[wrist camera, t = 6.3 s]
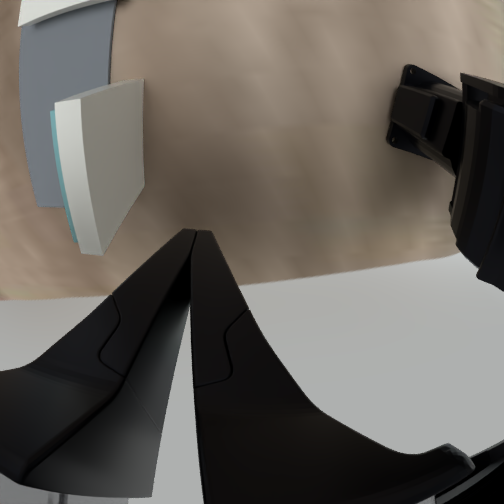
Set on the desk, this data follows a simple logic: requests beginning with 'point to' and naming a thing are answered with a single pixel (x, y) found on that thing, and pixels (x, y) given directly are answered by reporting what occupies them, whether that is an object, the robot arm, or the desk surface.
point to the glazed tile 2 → (99, 159)
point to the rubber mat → (59, 81)
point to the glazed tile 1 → (48, 9)
